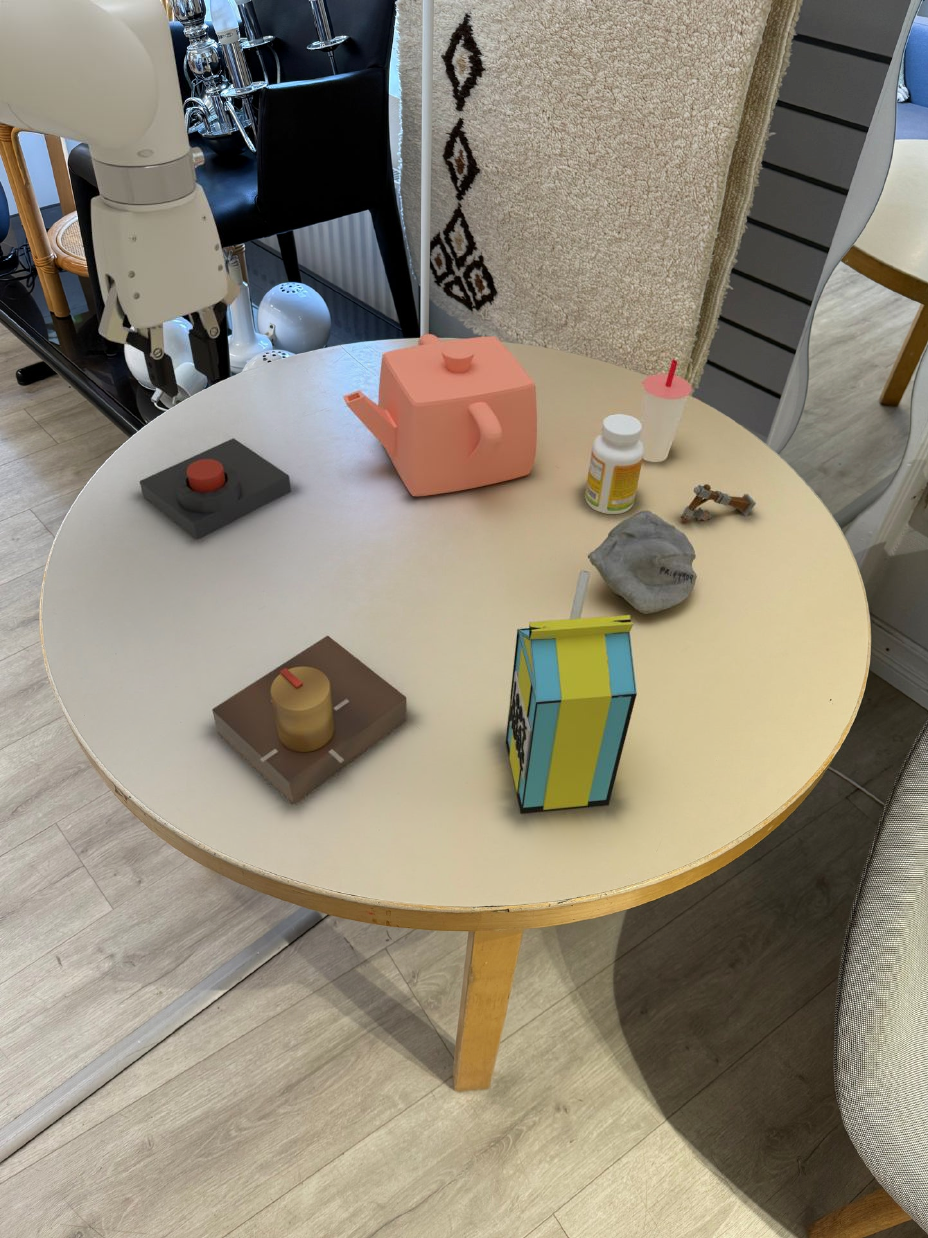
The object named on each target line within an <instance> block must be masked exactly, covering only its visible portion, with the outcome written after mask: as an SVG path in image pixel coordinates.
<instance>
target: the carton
mask: <svg viewBox="0 0 928 1238" xmlns="http://www.w3.org/2000/svg"><path fill="white" fill-rule="evenodd" d="M590 578H591V572H590V571H586V570H580V571H579V575H578V580H577V585H576V588H575V592H574V593H575V594H574V598H573V603H572V607H571V611H570V616H569V618H568V619H556V620H542V621H529V622H528V623H529V625H528V626H529V627H525V628H516V629H517V630H516V639H515V649H514V657H513V667H512V678H511V686H510V697H509V705H508V706H509V707H508V713H507V715H508V716H507V724H506V735H505V747H506V751H507V756H508V761H509V767H510V770H511V775H512V779H513V784H514V788H515V794H516V799H517V803H518V808H519V812H520V813H519V814H520V815H523V814H534V813H544V812H545V813H546V812H557V811H565V810H574V809H586V808H595V807H605V806H610V802H611V798H612V793H613V789H614V785H615V781H616V778H617V774H618V770H619V765H620V762H621V757H622V753H623V749H624V746H625V743H626V738H627V733H628V730H629V727H630V722H631V719H632V715H633V711H634V706H635V702H636V699H637V695H638V693H637V685H636V683H637V682H636V675H635V665H634V657H633V648H632V641H631V640H632V639H631V630H632V629H633V626H634V623H633V622H632V619H631V614H626V615H625V614H624V615H613V616H612V615H610V616H598V617H596V616H595V617H583V618H582V612H583V608H584V603H585V599H586V595H587V590H588V586H589V581H590Z"/></svg>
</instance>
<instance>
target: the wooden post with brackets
mask: <svg viewBox="0 0 928 1238" xmlns="http://www.w3.org/2000/svg"><path fill="white" fill-rule="evenodd" d="M693 493H694V494H695V497H694V498H693V499H692V501H691V502H690V504H689V505H688V506H686V507H685V508H684V510H683V513H682V515H681V516H680V519H681V521H683V522H688V520H689V519H690V518H691V517H692V516H694V517H695V518H696V519H697V520H698V521H701V520H703V521H704V522H707V521H708V520H709V519H711V518H712V514H711V513H710V512H709V510H708V509H702V507H700V506H701V505H703V504H705V503H706V502H708V501H713V502H714V503H715V504H718V505H722V506H725V507H728V506H731V507H732V508H735V509H738V511H739V512H740V513H741V514H742V515H743V516H746V517H747V516H749V514H750V512H751V511H752V510H753V509H754V507H755V506H756V504H757V503H756V501H755V500H754V499H753V498H752V497H751V495H750V494H748V493H744V494H743V495H742V496H731V495H729V494H728V493H724V492H721V491H719V490H712V487H711V485H710V484H708V483H704V485H701V484H698V485H697V486H695V487H694V488H693ZM697 508H698V509H697Z"/></svg>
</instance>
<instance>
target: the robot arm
mask: <svg viewBox="0 0 928 1238" xmlns="http://www.w3.org/2000/svg"><path fill="white" fill-rule="evenodd" d="M168 17H169V16H168V14H167V10H166V8H165V6H164V4H163V2H162V1H161V0H0V123H1V124H5V125H7V126H11V127H14V128H15V127H16V128H19V129H23V130H27V131H31V132H35V133H39V134H45V135H51V136H55V137H58V138H62V139H67V140H71V141H75V142H79V143H82V144H86V145H88V150H89V154H90V159H91V163H92V167H93V171H94V176H95V179H96V183H97V188H98V192H99V195H97V196H94V197H92V198H91V199H90V219H91V220H90V221H91V232H92V233H91V236H92V237H91V238H92V245H93V252H94V259H95V265H96V271H97V277H98V283H99V287H100V291H101V296H102V301H103V303H104V309H103V312H102V316H101V319H100V323H99V326H98V333H99V335H101V336H102V337H103V338H105V339H106V340H108V341H110V342H114V343H119V344H122V345H128V346H131V347H133V348H134V349H136V350H138V351H140V352H142V354H143V357H144V362H145V367H146V371H147V375H148V378H149V381H150V383H151V385H152V386H153V387H155V388H156V389H158V390H160V391H161V392H163V393H164V394H166V395H167V396H169V397H170V398H175V397H177V396H178V394H179V386H178V382H177V378H176V373H175V368H174V363H173V359H172V357H171V356H170V355H169V354H168V353H166V352H165V343H164V342H165V341H164V324H165V323H167V322H170V321H173V320H176V319H179V318H181V317H185V316H187V315H188V318H189V321H190V323H191V325H192V328H190V329H188V334H187V336H188V341H189V346H190V352H191V356H192V362H193V367H194V369H195V370H196V371H197V372H199V373H200V374H202V375H203V376H205V377H207V378H208V379H209V380H211V381H212V380H213V381H216V380H219V379H220V370H219V366H218V365H219V364H220V359H219V358H220V357H219V353H218V347H217V342H216V341H217V340H216V338H219V335H220V334H221V333H220V332H221V329H220V325H221V324H222V322H223V320H224V318H225V316H226V314H227V312H228V307H230V306H231V305H232V304H233V303H234V301H235V300H236V299H237V298H238V297H239V295H240V294H241V290H242V289H241V286H240V285H239V283H237V281H236V280H235V279H234V278H233V277H232V275H231V274H230V273H229V272H228V271H227V267H226V262H225V258H224V252H223V248H222V244H221V239H220V235H219V232H218V229H217V225H216V221H215V218H214V216H213V211H212V208H211V207H210V203H209V200H208V199H207V196H206V193H205V191H204V188H203V186H202V185H201V184H200V183H198V182H196V181H197V175H196V169H197V167H198V166H203V165H204V164H205V155H204V152H203V150H202V149H201V148H200V147H198V146H196V147H192V146H191V145H190V142H189V141H190V140H189V136H188V129H187V124H186V118H185V112H184V106H183V100H182V94H181V88H180V81H179V76H178V69H177V64H176V58H175V57H176V56H175V51H174V45H173V38H172V32H171V27H170V22H169V18H168ZM125 317H127V320H128V322H129V324H130V326H131V327H132V328H133V329H132V328H130V327H128V326H124V325H123V324H124V321H125Z"/></svg>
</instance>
